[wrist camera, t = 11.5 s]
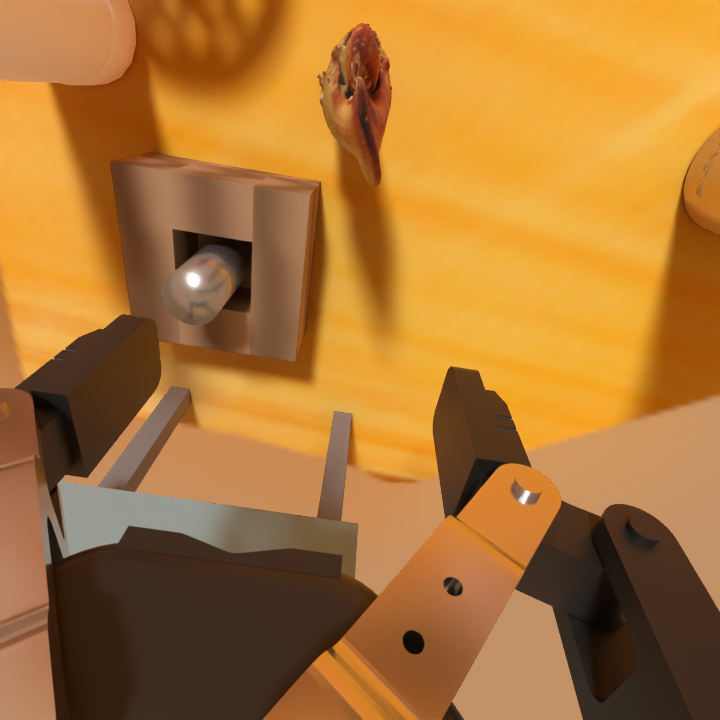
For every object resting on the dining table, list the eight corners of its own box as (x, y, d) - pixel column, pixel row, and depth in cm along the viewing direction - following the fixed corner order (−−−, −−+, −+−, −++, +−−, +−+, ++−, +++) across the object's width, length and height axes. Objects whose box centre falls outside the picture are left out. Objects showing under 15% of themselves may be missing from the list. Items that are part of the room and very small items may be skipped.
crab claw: (388, 152, 35) (391, 208, 18) (323, 153, 35) (265, 208, 18) (390, 45, 31) (397, -18, 14) (318, 46, 31) (239, -14, 14)
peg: (257, 235, 37) (219, 277, 29) (255, 279, 40) (219, 329, 31) (210, 227, 37) (158, 266, 29) (211, 271, 39) (163, 320, 31)
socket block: (320, 181, 36) (309, 195, 31) (305, 330, 43) (295, 361, 38) (150, 152, 35) (110, 161, 30) (164, 308, 43) (134, 336, 38)
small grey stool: (368, 349, 44) (352, 607, 22) (353, 431, 50) (327, 703, 27) (159, 316, 43) (-79, 549, 21) (168, 403, 49) (-12, 660, 27)
